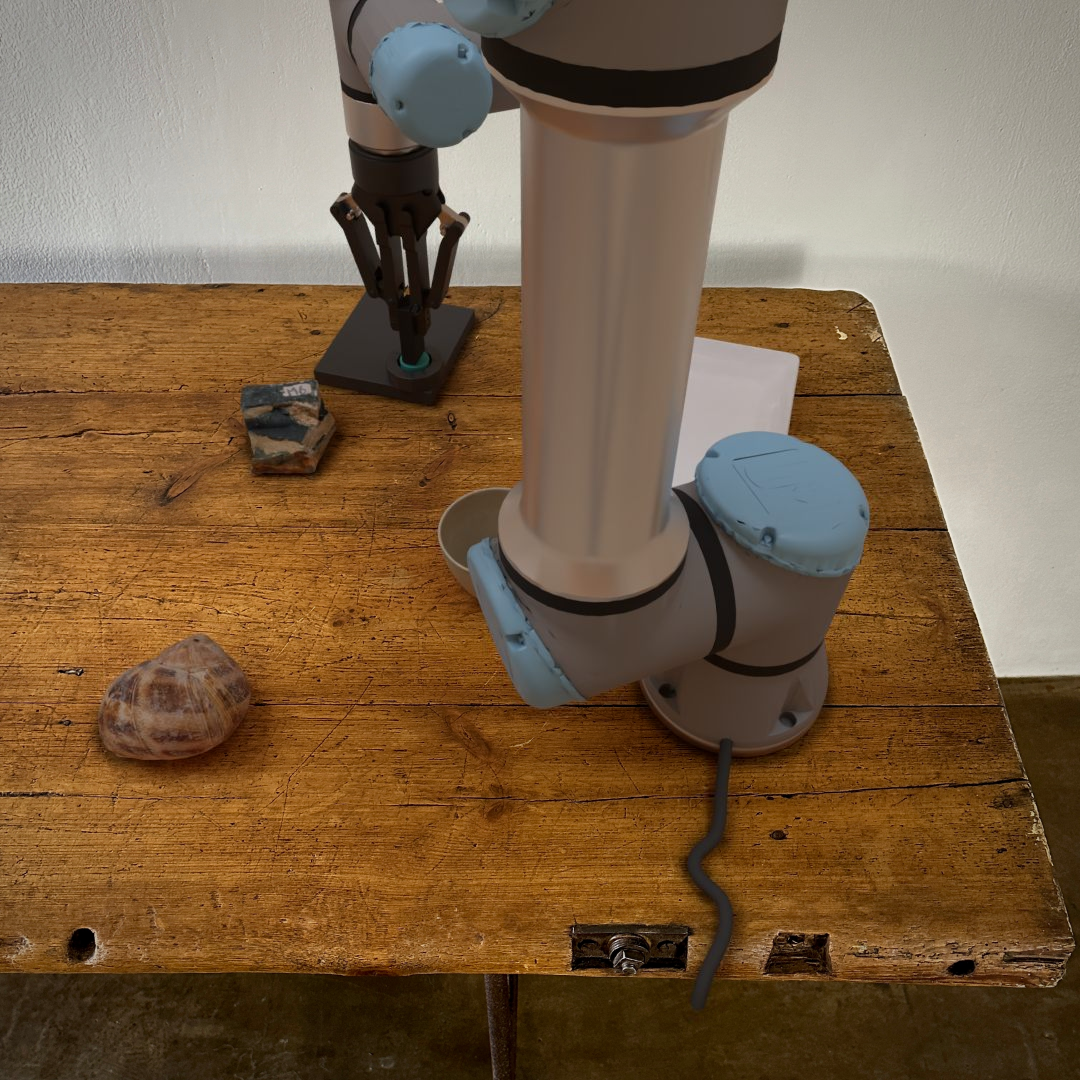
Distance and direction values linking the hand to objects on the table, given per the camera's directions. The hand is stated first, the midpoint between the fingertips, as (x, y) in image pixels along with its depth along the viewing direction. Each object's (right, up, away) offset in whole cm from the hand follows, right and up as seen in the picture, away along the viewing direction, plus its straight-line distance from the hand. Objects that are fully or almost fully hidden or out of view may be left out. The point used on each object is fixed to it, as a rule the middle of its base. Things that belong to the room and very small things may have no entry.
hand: (413, 355), depth 100 cm
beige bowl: (+9, -23, -14) cm, 28 cm away
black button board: (-3, +2, +7) cm, 7 cm away
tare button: (0, -1, +1) cm, 2 cm away
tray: (+28, -11, -3) cm, 31 cm away
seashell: (-15, -33, -24) cm, 43 cm away
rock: (-12, -10, -3) cm, 16 cm away
